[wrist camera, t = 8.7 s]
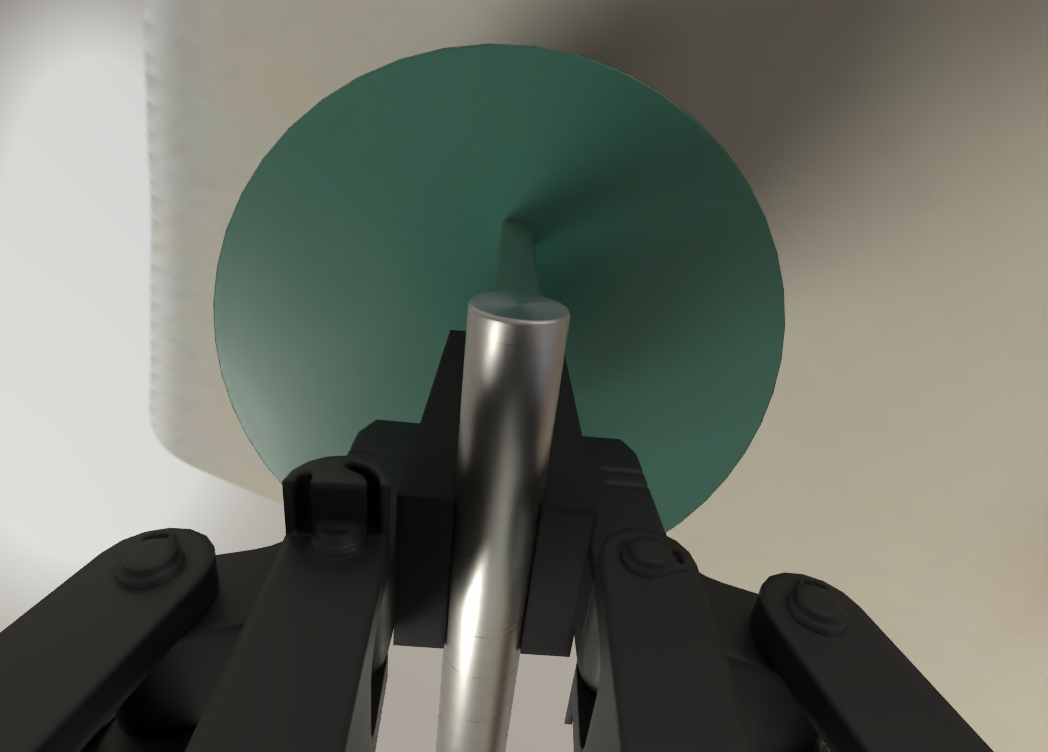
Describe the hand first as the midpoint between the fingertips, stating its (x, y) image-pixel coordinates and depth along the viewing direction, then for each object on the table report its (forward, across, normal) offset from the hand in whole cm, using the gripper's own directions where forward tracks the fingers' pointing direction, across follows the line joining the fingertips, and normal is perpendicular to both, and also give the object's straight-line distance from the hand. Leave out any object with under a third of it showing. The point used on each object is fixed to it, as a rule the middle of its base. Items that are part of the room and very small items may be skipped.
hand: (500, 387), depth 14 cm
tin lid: (+2, 0, 0) cm, 2 cm away
